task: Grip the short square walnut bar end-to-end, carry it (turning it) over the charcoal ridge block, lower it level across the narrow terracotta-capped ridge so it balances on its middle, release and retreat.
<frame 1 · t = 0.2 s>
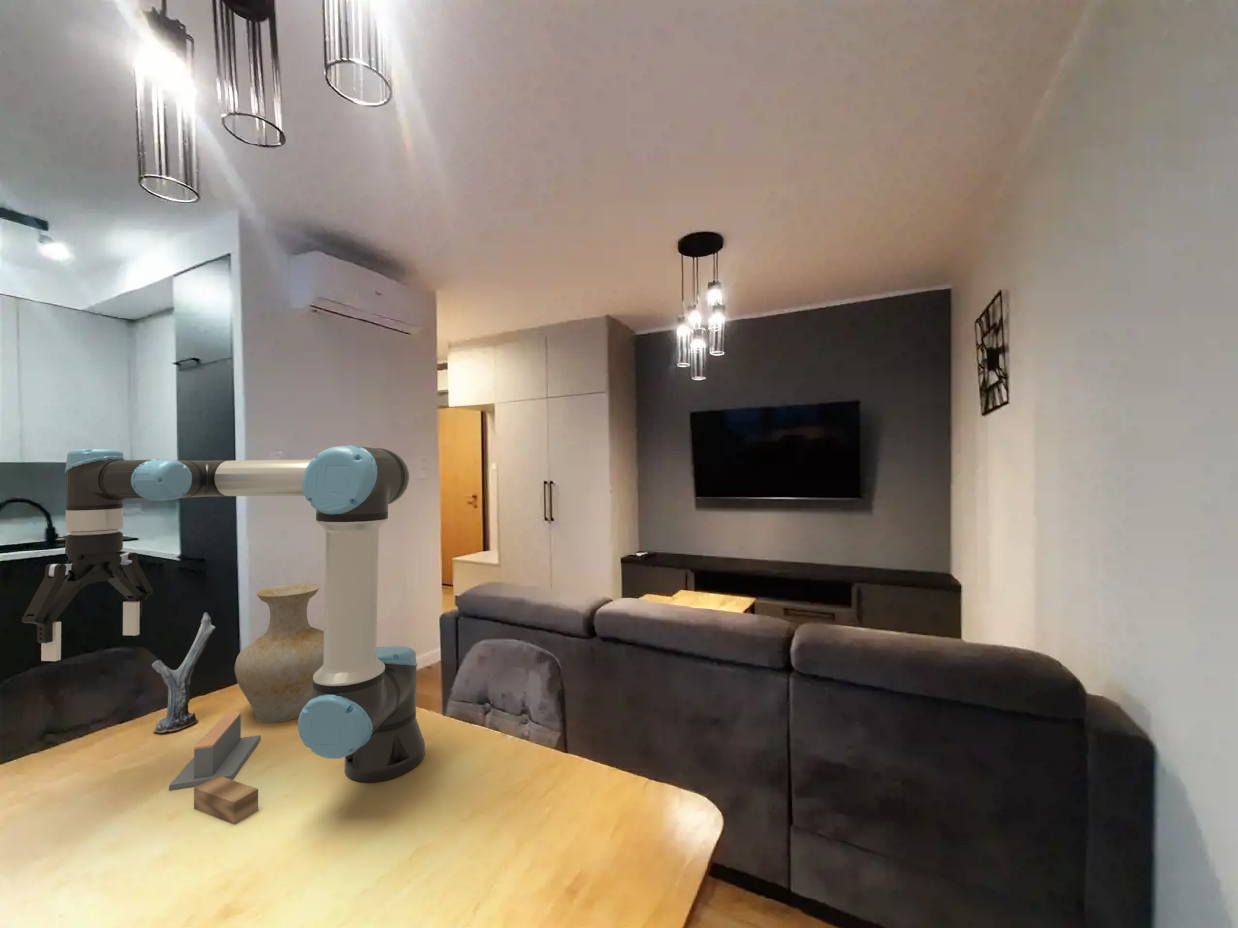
hand: (93, 646, 96), 28 cm above the table, fingers open, 13 cm apart
walnut bar: (225, 810, 92), on the table
ridge block: (218, 762, 106), on the table
antler: (183, 723, 123), on the table
vase: (288, 709, 130), on the table
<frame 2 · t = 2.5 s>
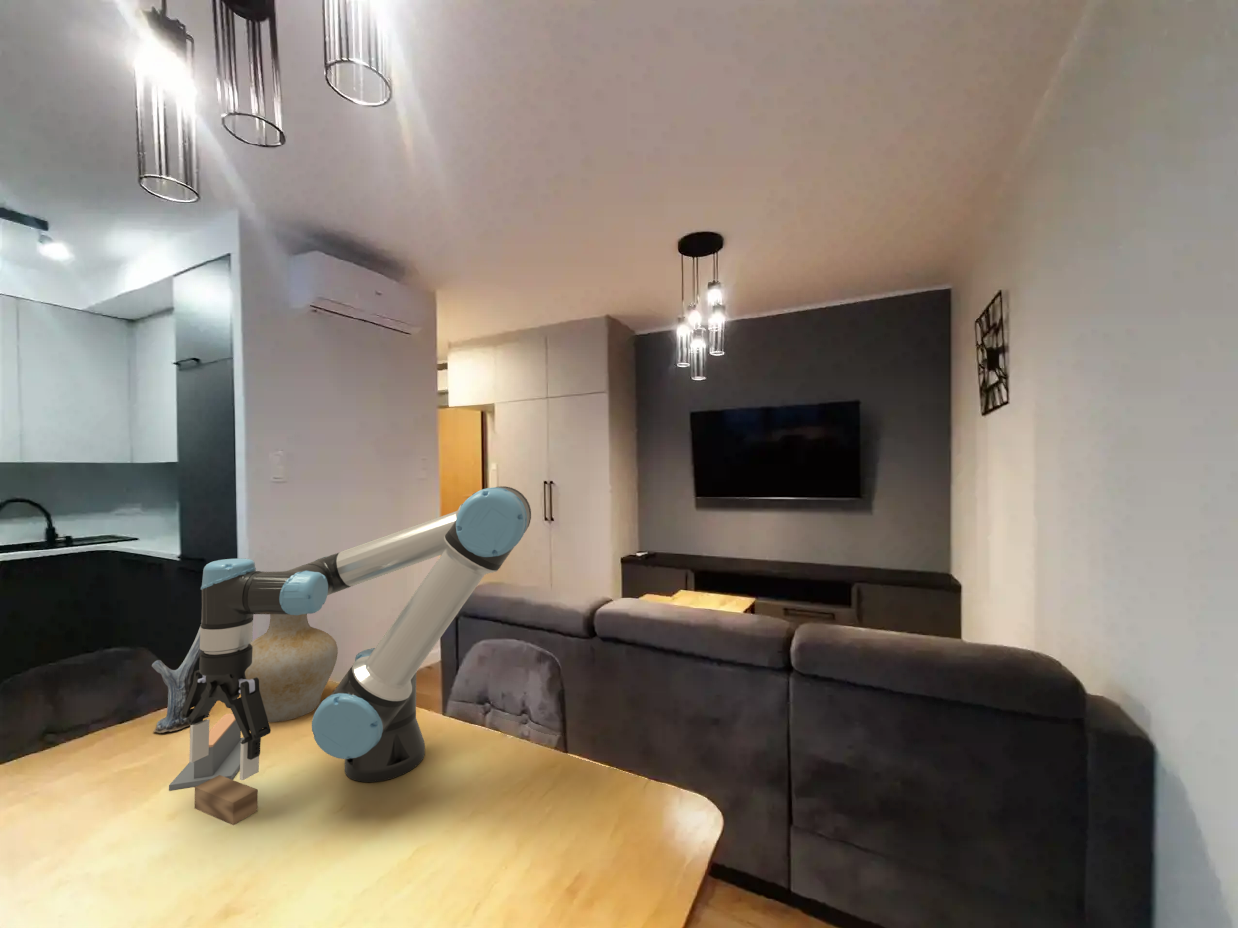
hand: (223, 766, 92), 8 cm above the table, fingers open, 13 cm apart
nothing on the table moved.
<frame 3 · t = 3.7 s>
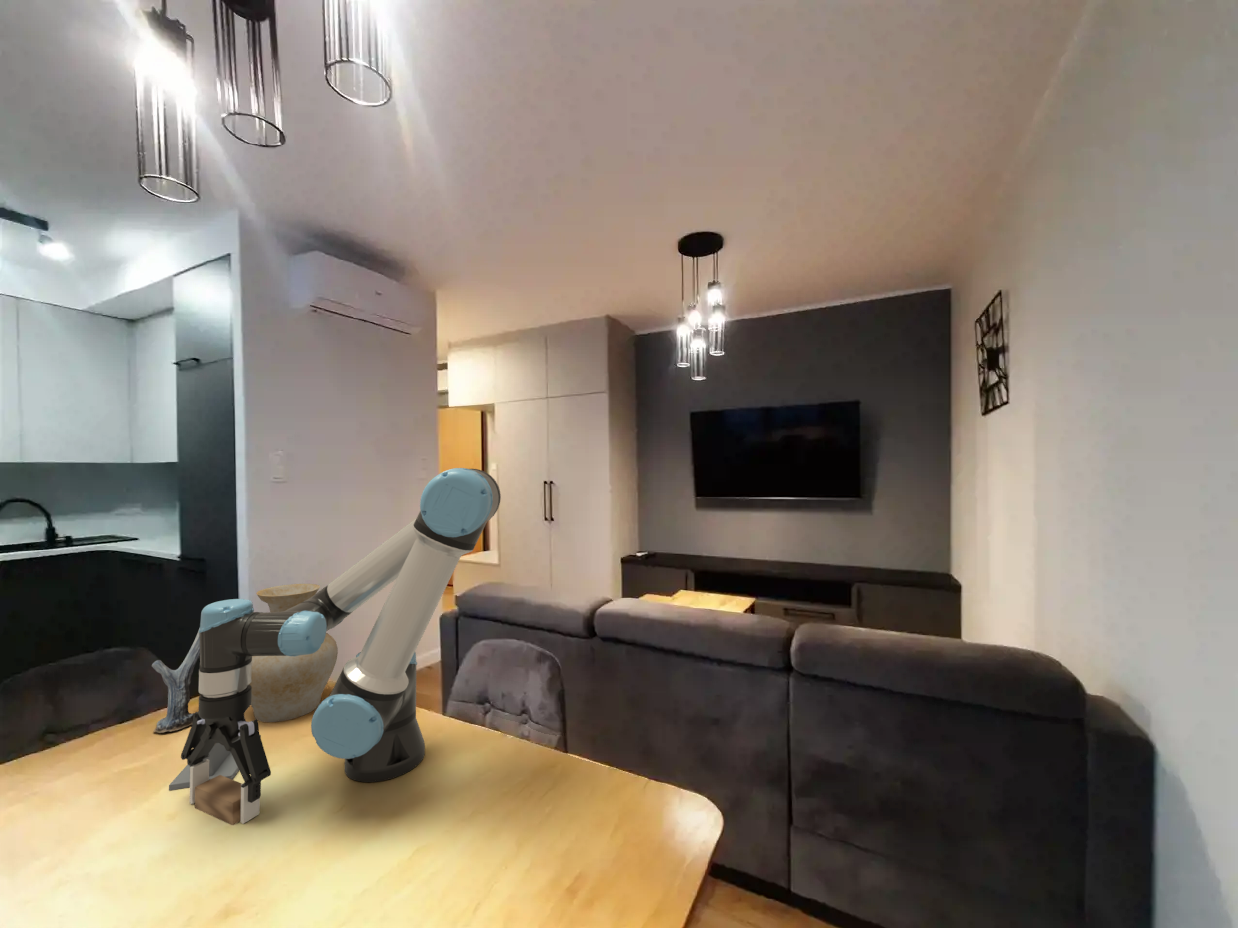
hand: (223, 808, 92), 0 cm above the table, fingers open, 13 cm apart
nothing on the table moved.
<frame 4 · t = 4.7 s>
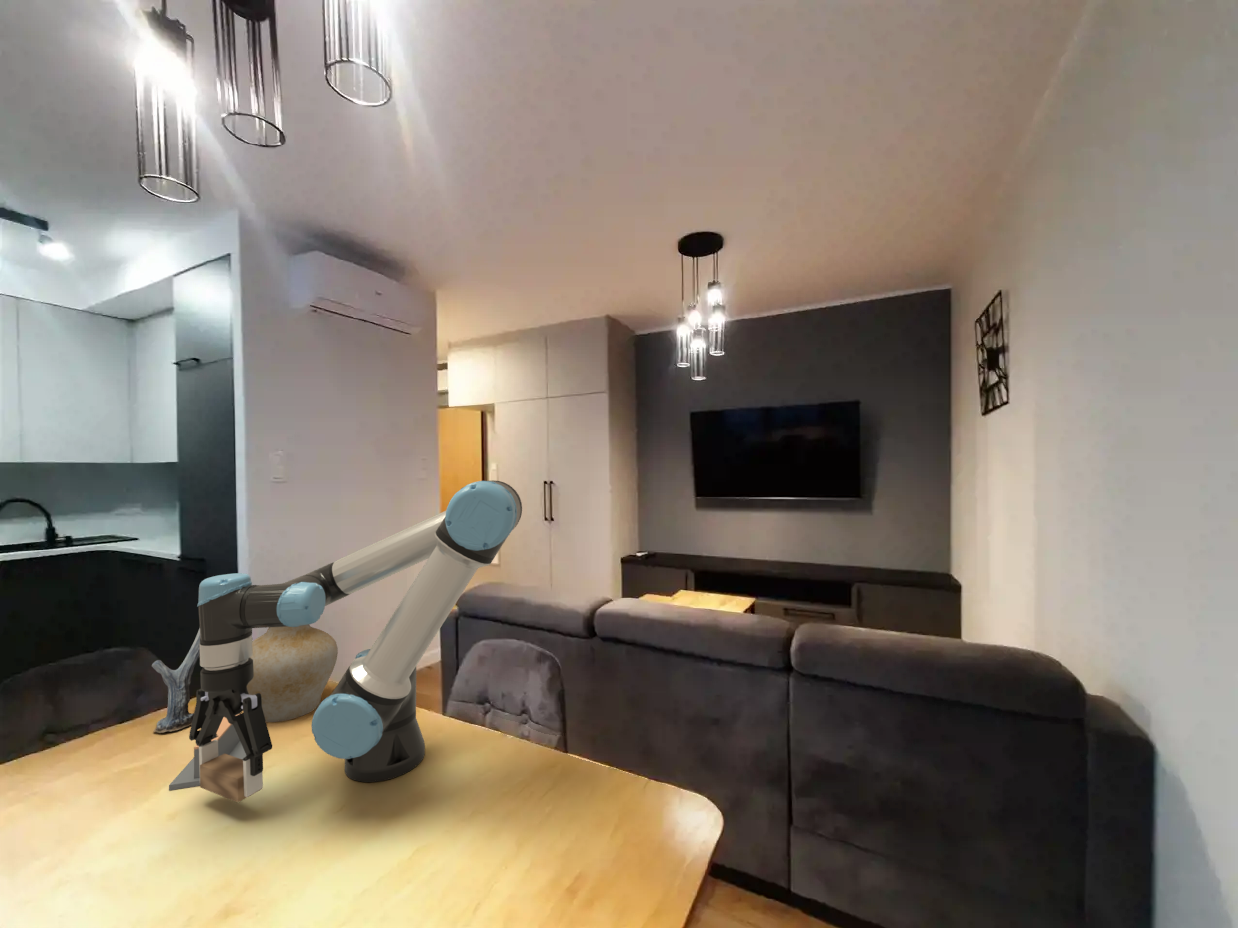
hand: (231, 785, 92), 4 cm above the table, fingers closed on walnut bar, 11 cm apart
walnut bar: (231, 787, 92), point 4 cm above the table, touching gripper
everything else where it was.
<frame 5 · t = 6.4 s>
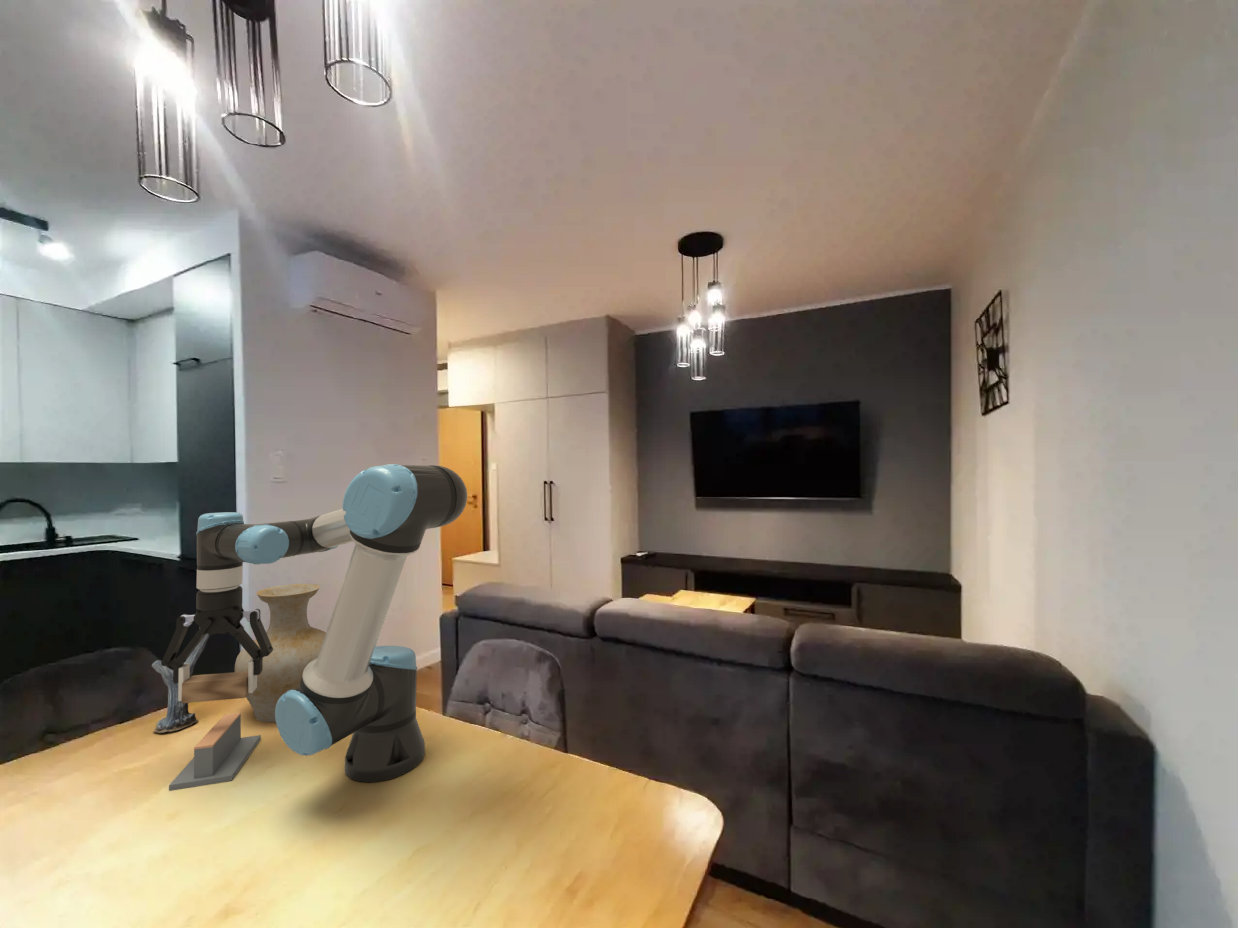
hand: (218, 694, 106), 14 cm above the table, fingers closed on walnut bar, 11 cm apart
walnut bar: (218, 696, 106), point 14 cm above the table, touching gripper
everything else where it was.
when the fingers open (8 cm above the table, at t = 8.4 s): walnut bar stays where it is, resting on ridge block.
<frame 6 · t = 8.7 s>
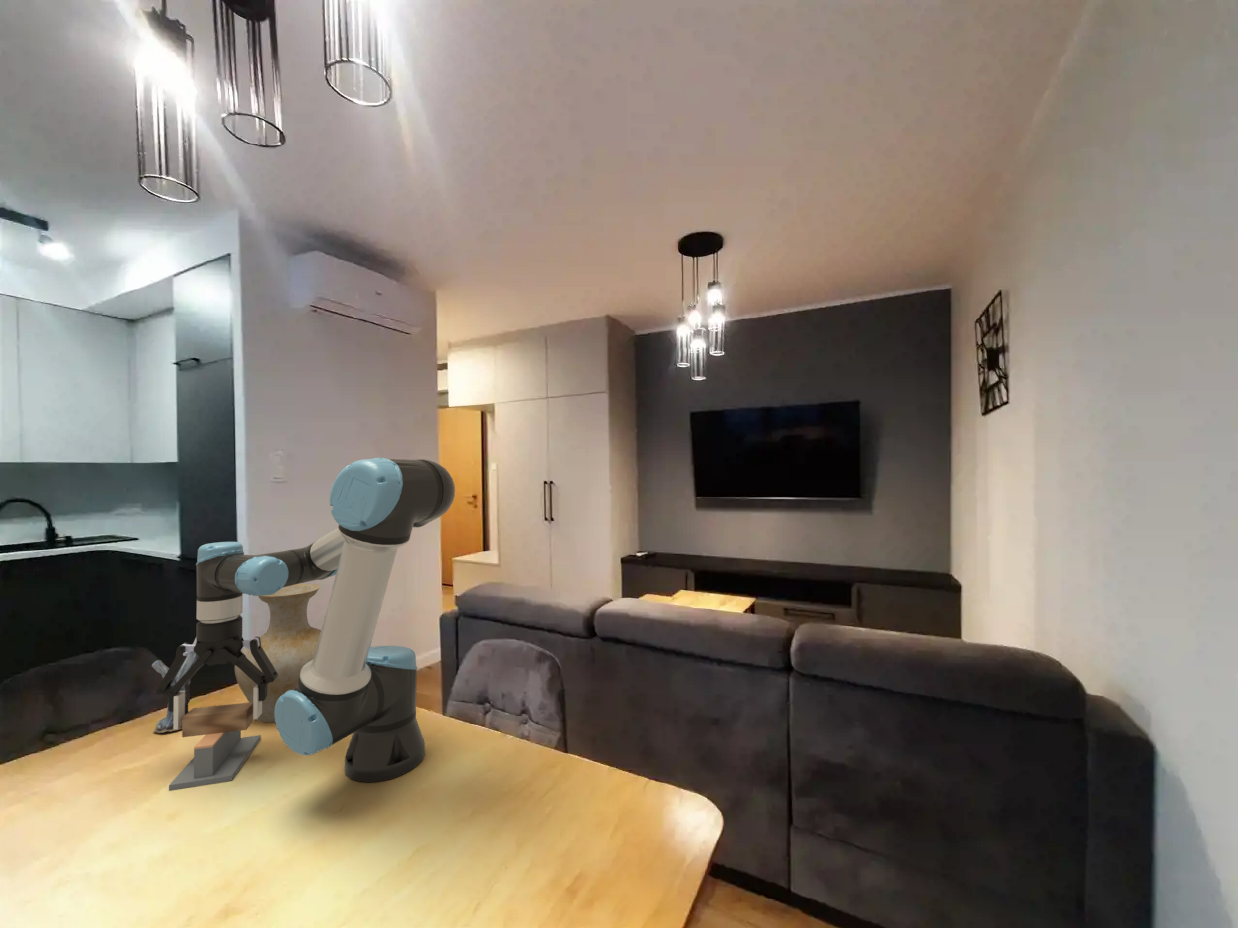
hand: (219, 721, 106), 8 cm above the table, fingers open, 13 cm apart
walnut bar: (219, 728, 106), point 7 cm above the table, touching ridge block
everything else where it was.
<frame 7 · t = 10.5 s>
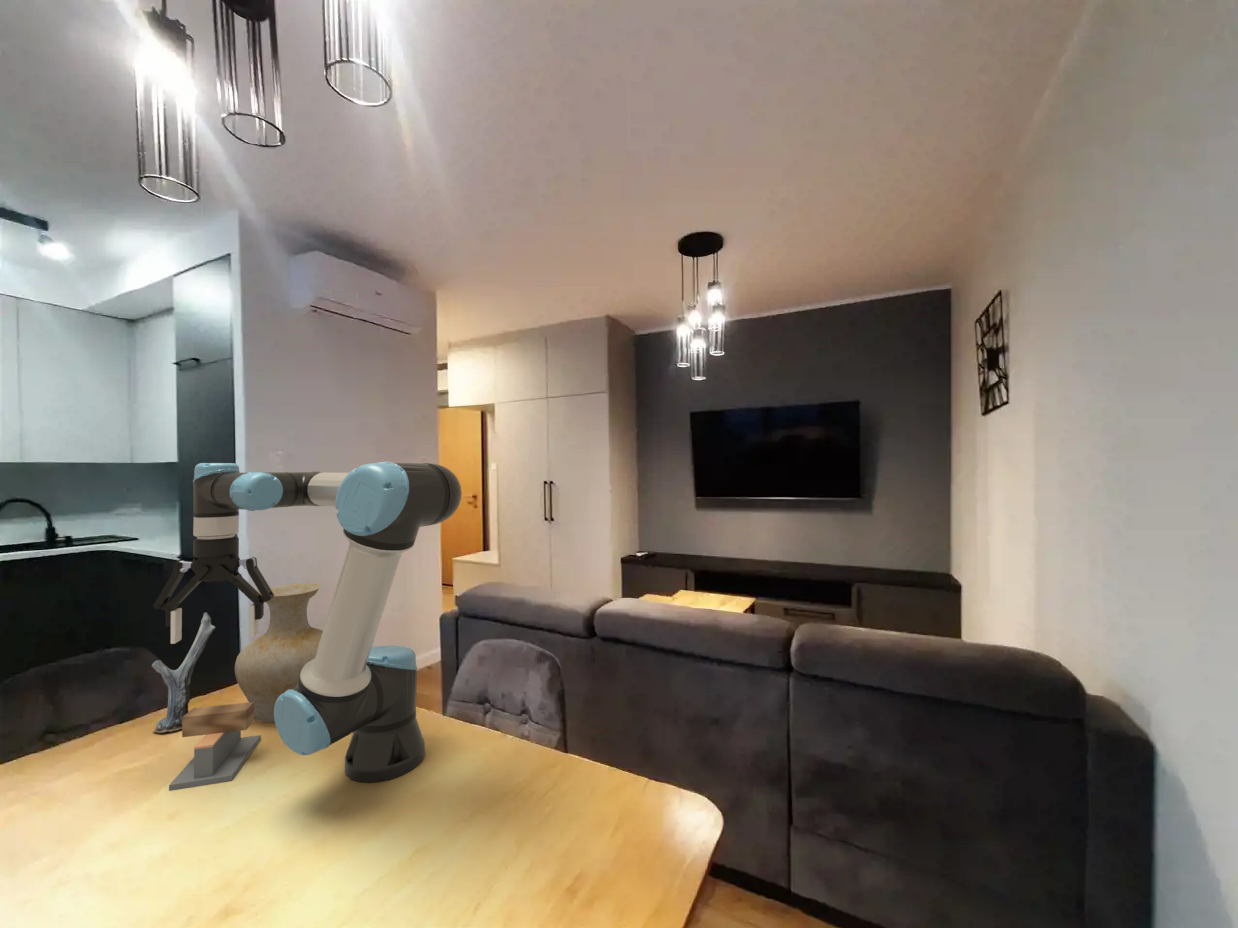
hand: (215, 638, 108), 25 cm above the table, fingers open, 13 cm apart
nothing on the table moved.
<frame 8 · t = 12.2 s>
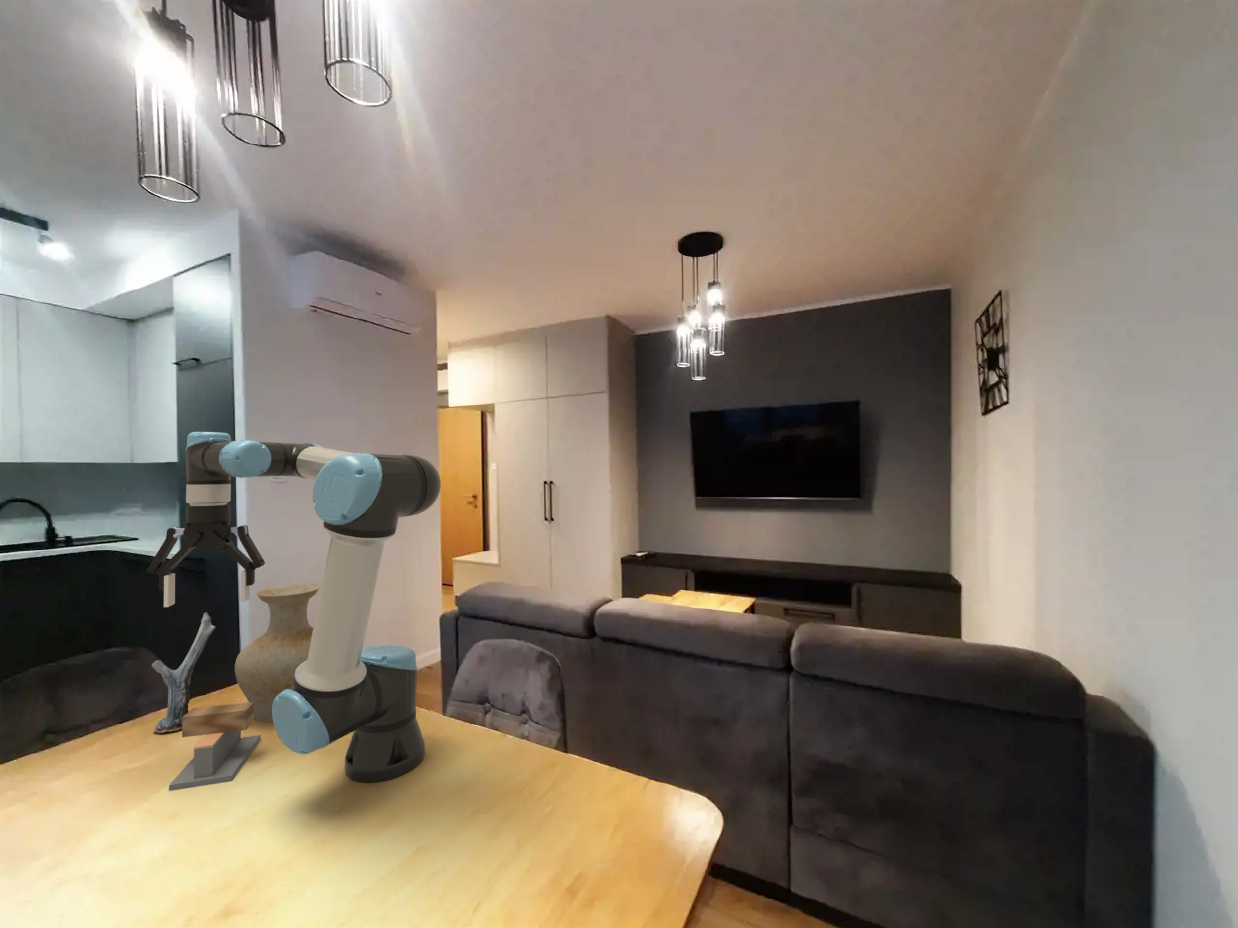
hand: (208, 603, 111), 32 cm above the table, fingers open, 13 cm apart
nothing on the table moved.
at the end: walnut bar 0.1 cm off-centre on the ridge block, point 7.0 cm above the ridge block's base; walnut bar tilted 0°; the gripper is holding nothing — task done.
